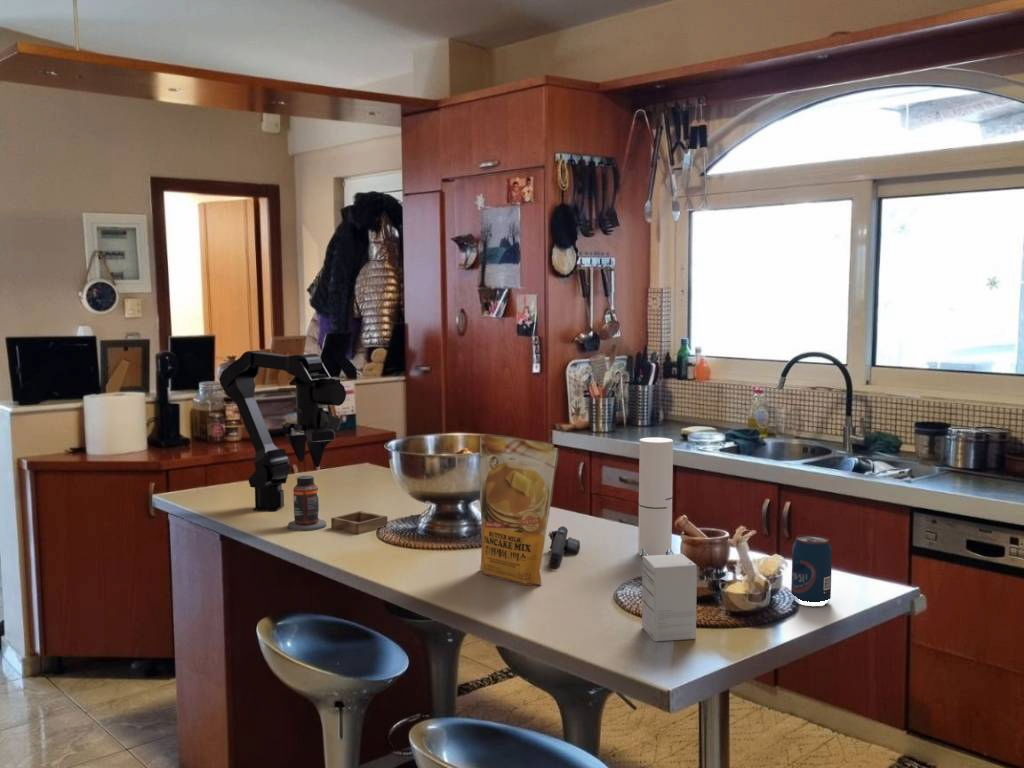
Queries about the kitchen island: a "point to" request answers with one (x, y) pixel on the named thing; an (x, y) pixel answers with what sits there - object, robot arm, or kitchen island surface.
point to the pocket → (358, 522)
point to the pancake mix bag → (515, 505)
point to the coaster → (307, 526)
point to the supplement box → (669, 597)
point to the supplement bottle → (306, 501)
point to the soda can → (811, 568)
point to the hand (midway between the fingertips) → (309, 464)
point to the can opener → (561, 546)
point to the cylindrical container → (655, 495)
